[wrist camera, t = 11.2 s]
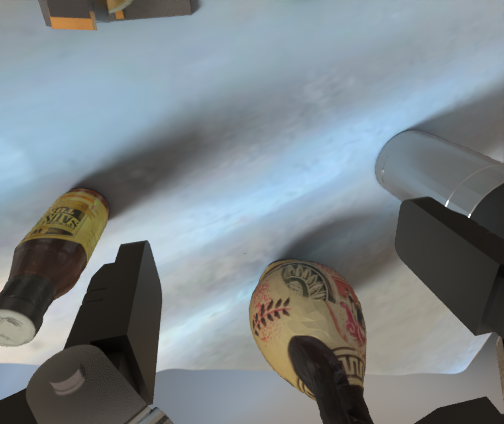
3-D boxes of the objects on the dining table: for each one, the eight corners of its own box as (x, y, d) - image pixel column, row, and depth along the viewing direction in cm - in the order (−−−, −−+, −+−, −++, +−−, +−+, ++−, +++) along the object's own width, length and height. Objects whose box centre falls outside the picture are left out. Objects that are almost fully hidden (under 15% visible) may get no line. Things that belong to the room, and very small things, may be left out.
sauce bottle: (98, 179, 41) (34, 284, 23) (118, 222, 44) (74, 342, 26) (45, 193, 40) (-60, 309, 23) (69, 235, 43) (-8, 365, 26)
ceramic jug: (350, 278, 56) (495, 489, 30) (278, 329, 58) (354, 564, 32) (294, 213, 48) (424, 423, 22) (214, 275, 51) (245, 529, 24)
